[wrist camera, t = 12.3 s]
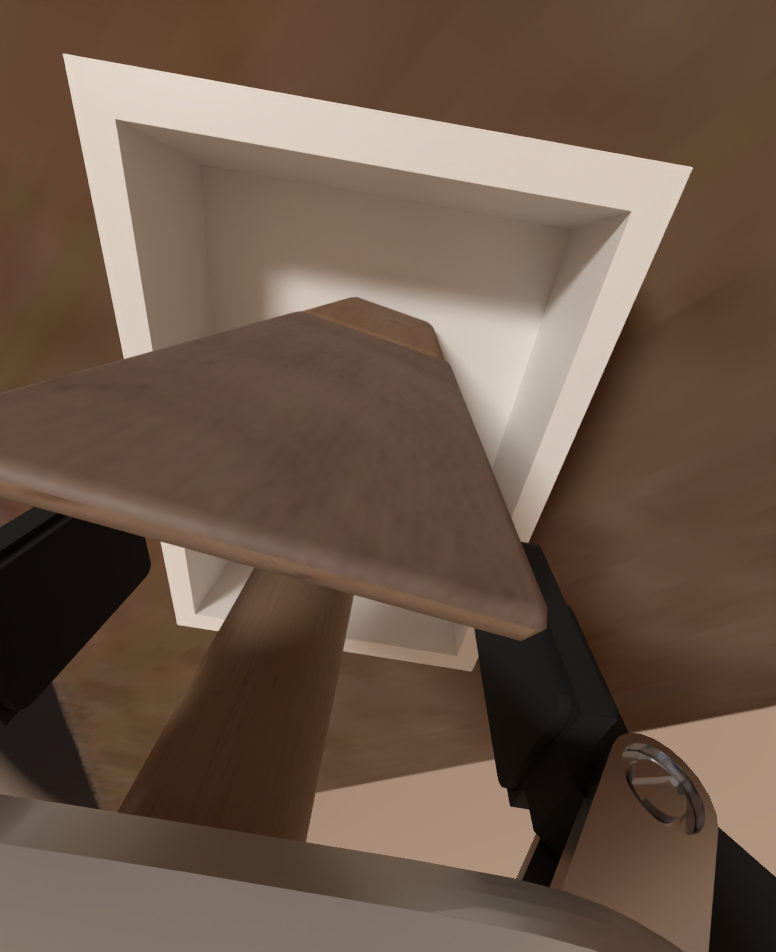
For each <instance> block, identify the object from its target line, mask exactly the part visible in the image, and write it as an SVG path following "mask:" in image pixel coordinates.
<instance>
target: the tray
mask: <svg viewBox="0 0 776 952" xmlns="http://www.w3.org/2000/svg"><path fill="white" fill-rule="evenodd" d="M63 57H64V62H65V67H66V72H67V77H68V82H69V87H70V92H71V97H72V102H73V107H74V112H75V117H76V122H77V126H78V131H79V136H80V141H81V146H82V151H83V156H84V161H85V166H86V171H87V176H88V181H89V186H90V191H91V196H92V201H93V206H94V211H95V216H96V221H97V226H98V231H99V236H100V241H101V246H102V251H103V256H104V261H105V266H106V271H107V276H108V281H109V286H110V291H111V296H112V301H113V306H114V311H115V316H116V321H117V326H118V331H119V336H120V341H121V346H122V351H123V356H124V359H126V358H129V357H133V356H137V355H140V354H144V353H148V352H151V351H155V350H158V349H162V348H166V347H169V346H173V345H177V344H180V343H184V342H187V341H191V340H195V339H198V338H202V337H206V336H209V335H213V334H216V333H220V332H224V331H227V330H231V329H235V328H238V327H242V326H245V325H249V324H253V323H256V322H260V321H263V320H267V319H271V318H274V317H278V316H282V315H285V314H289V313H292V312H298V311H304V310H308V309H311V308H315V307H318V306H322V305H325V304H329V303H332V302H336V301H339V300H343V299H346V298H350V297H359V298H361V299H364V300H367V301H370V302H373V303H376V304H378V305H381V306H384V307H387V308H390V309H393V310H395V311H398V312H401V313H404V314H407V315H410V316H412V317H415V318H418V319H421V320H424V321H427V322H428V323H429V324H431V325H432V326H433V328H434V331H435V334H436V336H437V339H438V342H439V345H440V347H441V350H442V353H443V356H444V358H445V361H446V362H448V363H449V364H450V366H451V368H452V371H453V373H454V376H455V378H456V381H457V383H458V386H459V388H460V391H461V393H462V396H463V398H464V401H465V403H466V406H467V408H468V411H469V413H470V416H471V418H472V421H473V423H474V426H475V428H476V431H477V433H478V436H479V438H480V441H481V443H482V446H483V448H484V451H485V453H486V456H487V458H488V461H489V463H490V466H491V468H492V471H493V473H494V476H495V478H496V481H497V483H498V486H499V488H500V491H501V493H502V496H503V498H504V501H505V503H506V506H507V508H508V511H509V513H510V516H511V518H512V521H513V523H514V526H515V528H516V531H517V533H518V536H519V538H520V541H521V542H526V543H528V542H529V540H530V538H531V536H532V533H533V531H534V529H535V526H536V524H537V522H538V520H539V517H540V515H541V513H542V511H543V508H544V506H545V504H546V501H547V499H548V497H549V495H550V492H551V490H552V488H553V485H554V483H555V481H556V479H557V476H558V474H559V472H560V469H561V467H562V465H563V463H564V460H565V458H566V456H567V454H568V451H569V449H570V447H571V444H572V442H573V440H574V438H575V435H576V433H577V431H578V428H579V426H580V424H581V422H582V419H583V417H584V415H585V413H586V410H587V408H588V406H589V403H590V401H591V399H592V397H593V394H594V392H595V390H596V387H597V385H598V383H599V381H600V378H601V376H602V374H603V371H604V369H605V367H606V365H607V362H608V360H609V358H610V356H611V353H612V351H613V349H614V346H615V344H616V342H617V340H618V337H619V335H620V333H621V330H622V328H623V326H624V324H625V321H626V319H627V317H628V315H629V312H630V310H631V308H632V305H633V303H634V301H635V299H636V296H637V294H638V292H639V289H640V287H641V285H642V283H643V280H644V278H645V276H646V273H647V271H648V269H649V267H650V264H651V262H652V260H653V258H654V255H655V253H656V251H657V248H658V246H659V244H660V242H661V239H662V237H663V235H664V232H665V230H666V228H667V226H668V223H669V221H670V219H671V217H672V214H673V212H674V210H675V207H676V205H677V203H678V201H679V198H680V196H681V194H682V191H683V189H684V187H685V185H686V182H687V180H688V178H689V176H690V173H691V171H692V169H693V167H688V166H683V165H677V164H671V163H666V162H660V161H655V160H649V159H644V158H638V157H633V156H627V155H622V154H616V153H611V152H605V151H599V150H594V149H588V148H583V147H577V146H572V145H566V144H561V143H555V142H550V141H544V140H539V139H533V138H528V137H522V136H516V135H511V134H505V133H500V132H494V131H489V130H483V129H478V128H472V127H467V126H461V125H456V124H450V123H445V122H439V121H433V120H428V119H422V118H417V117H411V116H406V115H400V114H395V113H389V112H384V111H378V110H373V109H367V108H362V107H356V106H350V105H345V104H339V103H334V102H328V101H323V100H317V99H312V98H306V97H301V96H295V95H290V94H284V93H279V92H273V91H267V90H262V89H256V88H251V87H245V86H240V85H234V84H229V83H223V82H218V81H212V80H207V79H201V78H196V77H190V76H184V75H179V74H173V73H168V72H162V71H157V70H151V69H146V68H140V67H135V66H129V65H124V64H118V63H113V62H107V61H101V60H96V59H90V58H85V57H79V56H74V55H68V54H63ZM161 545H162V550H163V555H164V560H165V565H166V570H167V575H168V580H169V585H170V590H171V595H172V600H173V605H174V610H175V615H176V620H177V625H183V626H189V627H195V628H202V629H208V630H214V631H219V629H220V628H221V626H222V624H223V622H224V620H225V619H226V617H227V615H228V613H229V612H230V610H231V608H232V606H233V604H234V603H235V601H236V599H237V597H238V595H239V594H240V592H241V590H242V588H243V587H244V585H245V583H246V581H247V579H248V578H249V576H250V574H251V572H252V570H253V569H254V567H251V566H247V565H244V564H240V563H237V562H233V561H229V560H226V559H222V558H218V557H215V556H211V555H208V554H204V553H200V552H197V551H193V550H190V549H186V548H182V547H179V546H175V545H171V544H168V543H164V542H161ZM343 651H346V652H352V653H359V654H365V655H371V656H378V657H384V658H390V659H396V660H403V661H409V662H415V663H422V664H428V665H434V666H440V667H447V668H453V669H459V670H465V671H472V670H473V668H474V665H475V663H476V661H477V659H478V650H477V644H476V637H475V630H474V628H472V627H468V626H465V625H461V624H457V623H454V622H450V621H446V620H443V619H439V618H436V617H432V616H428V615H425V614H421V613H418V612H414V611H410V610H407V609H403V608H399V607H396V606H392V605H389V604H385V603H381V602H378V601H374V600H370V599H367V598H363V597H360V596H356V595H354V597H353V602H352V608H351V613H350V618H349V623H348V628H347V633H346V638H345V643H344V649H343Z"/></svg>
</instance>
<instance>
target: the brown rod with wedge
mask: <svg viewBox="0 0 776 952" xmlns="http://www.w3.org/2000/svg"><path fill="white" fill-rule="evenodd" d="M0 497H1V498H5V499H9V500H12V501H16V502H19V503H23V504H27V505H30V506H34V507H37V508H41V509H45V510H48V511H52V512H56V513H59V514H63V515H66V516H70V517H74V518H77V519H81V520H85V521H88V522H92V523H95V524H99V525H103V526H106V527H110V528H113V529H117V530H121V531H124V532H128V533H132V534H135V535H139V536H142V537H146V538H150V539H153V540H157V541H161V542H164V543H168V544H171V545H175V546H179V547H182V548H186V549H190V550H193V551H197V552H200V553H204V554H208V555H211V556H215V557H218V558H222V559H226V560H229V561H233V562H237V563H240V564H244V565H247V566H251V567H254V569H253V570H252V572H251V574H250V576H249V578H248V579H247V581H246V583H245V585H244V587H243V588H242V590H241V592H240V594H239V595H238V597H237V599H236V601H235V603H234V604H233V606H232V608H231V610H230V612H229V613H228V615H227V617H226V619H225V620H224V622H223V624H222V626H221V628H220V629H219V631H218V633H217V635H216V637H215V638H214V640H213V642H212V644H211V646H210V647H209V649H208V651H207V653H206V654H205V656H204V658H203V660H202V662H201V663H200V665H199V667H198V669H197V671H196V672H195V674H194V676H193V678H192V680H191V681H190V683H189V685H188V687H187V688H186V690H185V692H184V694H183V696H182V697H181V699H180V701H179V703H178V705H177V706H176V708H175V710H174V712H173V713H172V715H171V717H170V719H169V721H168V722H167V724H166V726H165V728H164V730H163V731H162V733H161V735H160V737H159V739H158V740H157V742H156V744H155V746H154V747H153V749H152V751H151V753H150V755H149V756H148V758H147V760H146V762H145V764H144V765H143V767H142V769H141V771H140V773H139V774H138V776H137V778H136V780H135V781H134V783H133V785H132V787H131V789H130V790H129V792H128V794H127V796H126V798H125V799H124V801H123V803H122V805H121V806H120V808H119V810H118V813H124V814H130V815H137V816H143V817H150V818H156V819H162V820H169V821H175V822H181V823H188V824H194V825H200V826H207V827H213V828H219V829H226V830H232V831H239V832H245V833H251V834H257V835H264V836H270V837H276V838H282V839H288V840H294V841H301V842H306V839H307V833H308V828H309V823H310V817H311V813H312V807H313V802H314V797H315V792H316V787H317V782H318V777H319V772H320V767H321V762H322V756H323V751H324V746H325V741H326V736H327V731H328V726H329V720H330V715H331V710H332V705H333V700H334V695H335V690H336V685H337V679H338V674H339V669H340V664H341V659H342V654H343V649H344V643H345V638H346V633H347V628H348V623H349V618H350V613H351V608H352V602H353V597H354V595H356V596H360V597H363V598H367V599H370V600H374V601H378V602H381V603H385V604H389V605H392V606H396V607H399V608H403V609H407V610H410V611H414V612H418V613H421V614H425V615H428V616H432V617H436V618H439V619H443V620H446V621H450V622H454V623H457V624H461V625H465V626H468V627H472V628H475V629H479V630H483V631H486V632H490V633H494V634H497V635H501V636H504V637H508V638H512V639H515V640H519V641H522V640H525V639H527V638H529V637H531V636H533V635H535V634H538V633H540V632H541V631H543V630H545V629H547V606H546V603H545V601H544V598H543V596H542V593H541V591H540V588H539V586H538V583H537V581H536V578H535V576H534V573H533V571H532V568H531V566H530V563H529V561H528V558H527V556H526V553H525V551H524V548H523V546H522V543H521V541H520V538H519V536H518V533H517V531H516V528H515V526H514V523H513V521H512V518H511V516H510V513H509V511H508V508H507V506H506V503H505V501H504V498H503V496H502V493H501V491H500V488H499V486H498V483H497V481H496V478H495V476H494V473H493V471H492V468H491V466H490V463H489V461H488V458H487V456H486V453H485V451H484V448H483V446H482V443H481V441H480V438H479V436H478V433H477V431H476V428H475V426H474V423H473V421H472V418H471V416H470V413H469V411H468V408H467V406H466V403H465V401H464V398H463V396H462V393H461V391H460V388H459V386H458V383H457V381H456V378H455V376H454V373H453V371H452V368H451V366H450V364H449V363H448V362H446V361H445V358H444V356H443V353H442V350H441V347H440V345H439V342H438V339H437V336H436V334H435V331H434V328H433V326H432V325H431V324H429V323H428V322H427V321H424V320H421V319H418V318H415V317H412V316H410V315H407V314H404V313H401V312H398V311H395V310H393V309H390V308H387V307H384V306H381V305H378V304H376V303H373V302H370V301H367V300H364V299H361V298H359V297H350V298H346V299H343V300H339V301H336V302H332V303H329V304H325V305H322V306H318V307H315V308H311V309H308V310H304V311H298V312H292V313H289V314H285V315H282V316H278V317H274V318H271V319H267V320H263V321H260V322H256V323H253V324H249V325H245V326H242V327H238V328H235V329H231V330H227V331H224V332H220V333H216V334H213V335H209V336H206V337H202V338H198V339H195V340H191V341H187V342H184V343H180V344H177V345H173V346H169V347H166V348H162V349H158V350H155V351H151V352H148V353H144V354H140V355H137V356H133V357H129V358H126V359H122V360H119V361H115V362H111V363H108V364H104V365H100V366H97V367H93V368H90V369H86V370H82V371H79V372H75V373H72V374H68V375H64V376H61V377H57V378H53V379H50V380H46V381H43V382H39V383H35V384H32V385H28V386H24V387H21V388H17V389H14V390H10V391H6V392H3V393H0Z"/></svg>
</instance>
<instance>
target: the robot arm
mask: <svg viewBox="0 0 776 952" xmlns="http://www.w3.org/2000/svg"><path fill="white" fill-rule="evenodd" d="M521 543H522V546H523V548H524V551H525V553H526V556H527V558H528V561H529V563H530V566H531V568H532V571H533V573H534V576H535V578H536V581H537V583H538V586H539V588H540V591H541V593H542V596H543V598H544V601H545V603H546V606H547V629H545V630H543V631H541V632H540V633H538V634H535V635H533V636H531V637H529V638H527V639H525V640H522V641H519V640H515V639H512V638H508V637H504V636H501V635H497V634H494V633H490V632H486V631H483V630H479V629H475V628H474V630H475V637H476V644H477V650H478V656H479V663H480V669H481V675H482V682H483V688H484V694H485V701H486V707H487V713H488V720H489V726H490V732H491V739H492V745H493V751H494V758H495V764H496V770H497V776H498V780H499V783H500V785H501V786H502V787H504V788H507V791H508V797H509V803H510V806H511V807H517V808H524V809H529V810H530V815H531V820H532V824H533V829H534V831H535V833H536V835H535V837H534V840H533V842H532V844H531V847H530V849H529V851H528V853H527V855H526V858H525V860H524V862H523V865H522V867H521V869H520V871H519V874H518V876H517V878H516V879H514V878H509V877H503V876H498V875H493V874H487V873H481V872H476V871H471V870H465V869H459V868H455V867H449V866H444V865H438V864H433V863H428V862H422V861H417V860H411V859H405V858H398V857H393V856H387V855H380V854H374V853H368V852H362V851H356V850H350V849H343V848H337V847H331V846H325V845H319V844H313V843H307V842H301V841H294V840H288V839H282V838H276V837H270V836H264V835H257V834H251V833H245V832H239V831H232V830H226V829H219V828H213V827H207V826H200V825H194V824H188V823H181V822H175V821H169V820H162V819H156V818H150V817H143V816H137V815H130V814H124V813H118V812H111V811H105V810H99V809H92V808H86V807H78V806H72V805H67V804H60V803H54V802H47V801H40V800H34V799H27V798H21V797H14V796H7V795H1V794H0V952H776V877H775V876H774V875H773V874H771V873H770V872H769V871H768V870H767V869H766V868H765V867H763V866H762V865H761V864H760V863H759V862H758V861H757V860H755V859H754V858H753V857H752V856H751V855H750V854H749V853H747V852H746V851H745V850H744V849H743V848H742V847H741V846H739V845H738V844H737V843H736V842H735V841H734V840H733V839H732V838H730V837H729V836H728V835H727V834H726V833H725V832H723V831H722V830H721V829H720V828H719V827H718V824H717V815H716V812H715V809H714V807H713V804H712V802H711V799H710V796H709V795H708V793H707V792H706V790H705V788H704V787H703V785H702V784H701V782H700V780H699V779H698V777H697V776H696V775H695V774H694V773H693V771H692V770H691V769H690V768H689V767H688V766H687V764H686V763H685V762H684V761H683V760H682V759H680V758H679V757H678V756H677V755H676V754H675V753H674V752H673V751H671V750H670V749H669V748H667V747H666V746H664V745H663V744H661V743H660V742H658V741H656V740H655V739H652V738H650V737H647V736H645V735H642V734H636V733H628V730H627V728H626V726H625V724H624V722H623V719H622V717H621V715H620V713H619V711H618V709H617V706H616V704H615V702H614V700H613V698H612V695H611V693H610V691H609V689H608V687H607V685H606V682H605V680H604V678H603V676H602V674H601V671H600V669H599V667H598V665H597V663H596V661H595V658H594V656H593V654H592V652H591V650H590V647H589V645H588V643H587V641H586V639H585V637H584V634H583V632H582V630H581V628H580V626H579V623H578V621H577V619H576V617H575V615H574V613H573V611H572V610H571V608H570V607H569V606H568V605H567V604H566V603H565V600H564V598H563V596H562V594H561V592H560V589H559V587H558V585H557V583H556V580H555V578H554V576H553V574H552V571H551V569H550V567H549V565H548V563H547V560H546V558H545V556H544V554H543V551H542V549H541V547H540V546H539V545H537V544H532V543H526V542H521ZM150 566H151V561H150V557H149V553H148V549H147V545H146V540H145V537H142V536H139V535H135V534H132V533H128V532H124V531H121V530H117V529H113V528H110V527H106V526H103V525H99V524H95V523H92V522H88V521H85V520H81V519H77V518H74V517H70V516H66V515H63V514H59V513H56V512H52V511H48V510H45V509H41V508H37V507H33V508H31V509H30V510H28V511H27V512H25V513H23V514H22V515H20V516H18V517H17V518H15V519H13V520H12V521H10V522H8V523H7V524H5V525H3V526H2V527H0V725H2V726H6V725H7V723H8V722H9V721H10V720H11V719H12V718H13V717H14V716H15V715H16V714H17V712H18V711H19V710H22V709H24V708H26V707H28V706H29V705H31V704H32V703H33V702H34V701H35V700H36V699H37V698H38V696H39V695H40V694H41V693H42V692H43V691H44V690H45V689H46V688H47V686H48V685H49V684H50V683H51V682H52V681H53V680H54V679H55V678H56V676H57V675H58V674H59V673H60V672H61V671H62V670H63V669H64V668H65V666H66V665H67V664H68V663H69V662H70V661H71V660H72V659H73V658H74V656H75V655H76V654H77V653H78V652H79V651H80V650H81V649H82V648H83V646H84V645H85V644H86V643H87V642H88V641H89V640H90V639H91V638H92V636H93V635H94V634H95V633H96V632H97V631H98V630H99V629H100V628H101V626H102V625H103V624H104V623H105V622H106V621H107V620H108V619H109V617H110V616H111V615H112V614H113V613H114V612H115V611H116V610H117V609H118V607H119V606H120V605H121V604H122V603H123V602H124V601H125V600H126V599H127V597H128V596H129V595H130V594H131V593H132V592H133V591H134V590H135V589H136V587H137V586H138V585H139V584H140V583H141V582H142V581H143V580H144V579H145V577H146V576H147V575H148V573H149V570H150Z"/></svg>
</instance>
